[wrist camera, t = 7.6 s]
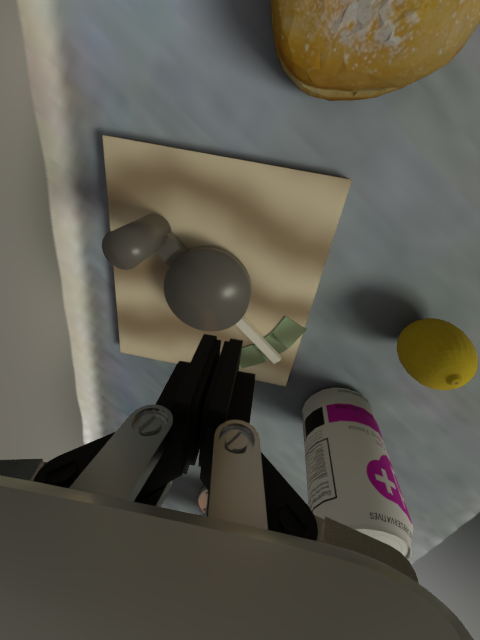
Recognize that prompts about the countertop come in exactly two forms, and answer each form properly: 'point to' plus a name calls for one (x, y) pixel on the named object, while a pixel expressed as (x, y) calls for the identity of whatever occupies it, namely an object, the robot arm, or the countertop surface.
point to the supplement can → (352, 468)
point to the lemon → (437, 354)
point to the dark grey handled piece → (190, 277)
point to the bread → (367, 42)
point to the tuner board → (223, 245)
